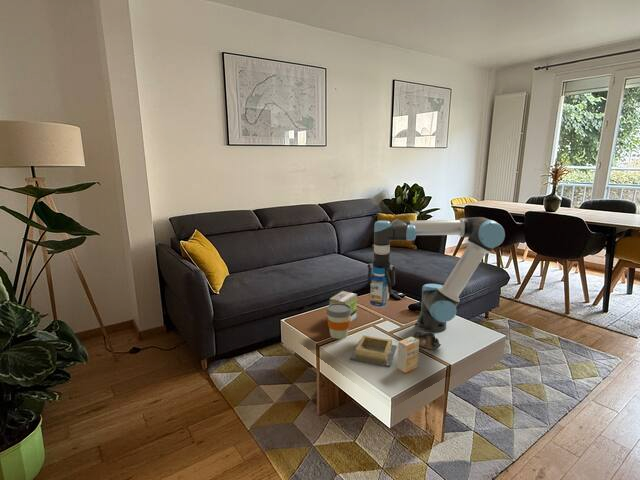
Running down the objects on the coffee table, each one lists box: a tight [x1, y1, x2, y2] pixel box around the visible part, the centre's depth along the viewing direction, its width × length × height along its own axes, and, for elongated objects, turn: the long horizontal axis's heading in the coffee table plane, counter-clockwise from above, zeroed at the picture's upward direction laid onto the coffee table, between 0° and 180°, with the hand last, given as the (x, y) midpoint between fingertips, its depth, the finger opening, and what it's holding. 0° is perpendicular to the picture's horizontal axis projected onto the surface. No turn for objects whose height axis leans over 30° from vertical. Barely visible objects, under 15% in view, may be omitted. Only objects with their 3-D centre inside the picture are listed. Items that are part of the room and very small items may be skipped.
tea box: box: [329, 290, 358, 323], centre depth 199 cm, size 15×10×15 cm, turn 148°
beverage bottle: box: [369, 266, 388, 308], centre depth 176 cm, size 8×8×20 cm
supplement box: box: [396, 336, 420, 374], centre depth 152 cm, size 8×5×13 cm, turn 126°
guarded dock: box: [349, 335, 398, 368], centre depth 165 cm, size 18×18×4 cm
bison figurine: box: [411, 330, 442, 350], centre depth 171 cm, size 12×7×10 cm
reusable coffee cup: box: [326, 303, 352, 340], centre depth 182 cm, size 13×13×15 cm
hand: (381, 297), depth 177 cm, fingers closed on beverage bottle, 6 cm apart
